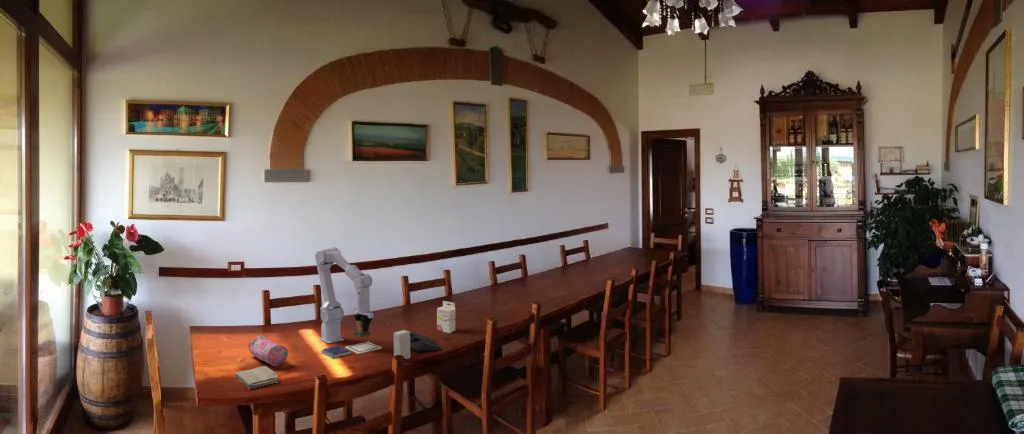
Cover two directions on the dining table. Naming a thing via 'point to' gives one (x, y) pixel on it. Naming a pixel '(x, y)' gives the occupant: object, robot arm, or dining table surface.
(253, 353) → the pencil case
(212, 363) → the dining table surface
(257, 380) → the washcloth
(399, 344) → the skincare box
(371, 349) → the print card
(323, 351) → the ink pad
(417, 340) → the dark slate chunk
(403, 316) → the dining table surface
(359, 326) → the stamp
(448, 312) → the ink cartridge box
